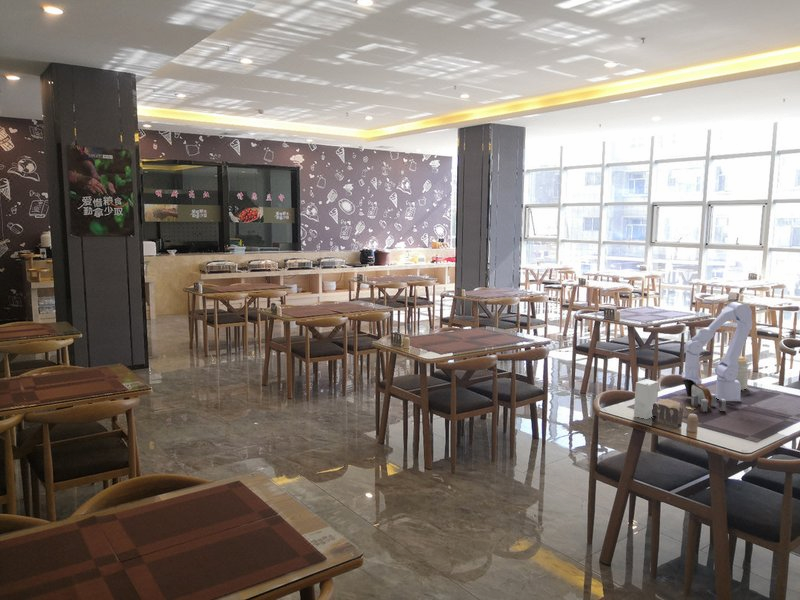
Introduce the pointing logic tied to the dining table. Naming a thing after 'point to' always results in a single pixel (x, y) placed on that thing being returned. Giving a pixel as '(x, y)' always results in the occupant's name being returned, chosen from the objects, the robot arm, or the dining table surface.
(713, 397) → the collar
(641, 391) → the skincare box
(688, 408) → the brass mark
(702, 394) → the bread slice
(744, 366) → the jar
